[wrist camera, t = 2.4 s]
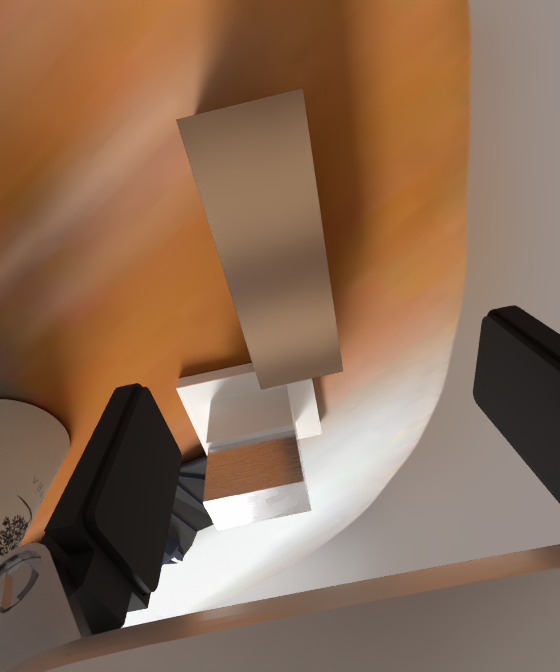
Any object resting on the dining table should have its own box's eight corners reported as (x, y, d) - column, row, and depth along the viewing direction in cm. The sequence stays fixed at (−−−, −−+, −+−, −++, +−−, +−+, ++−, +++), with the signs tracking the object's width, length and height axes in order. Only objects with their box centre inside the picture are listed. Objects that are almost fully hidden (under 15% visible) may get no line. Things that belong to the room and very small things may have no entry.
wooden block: (193, 120, 19) (176, 119, 13) (285, 97, 18) (302, 88, 13) (256, 337, 26) (261, 390, 21) (322, 322, 26) (342, 371, 21)
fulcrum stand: (178, 378, 27) (153, 483, 19) (305, 351, 27) (333, 445, 19) (209, 447, 31) (199, 556, 23) (319, 423, 31) (346, 525, 23)
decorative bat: (72, 633, 38) (-11, 594, 34) (89, 591, 42) (15, 551, 37) (301, 523, 31) (232, 458, 27) (297, 484, 35) (235, 422, 31)
